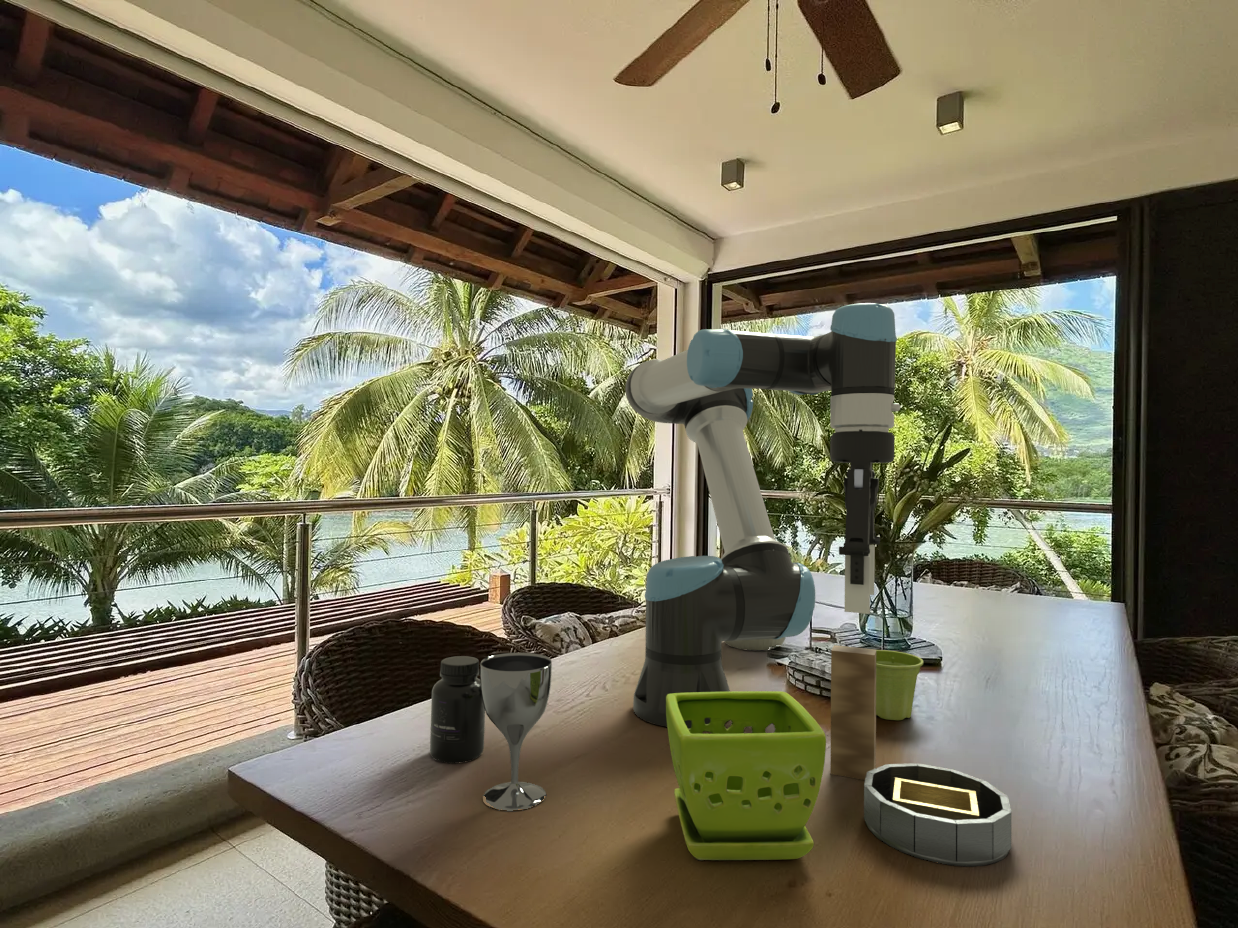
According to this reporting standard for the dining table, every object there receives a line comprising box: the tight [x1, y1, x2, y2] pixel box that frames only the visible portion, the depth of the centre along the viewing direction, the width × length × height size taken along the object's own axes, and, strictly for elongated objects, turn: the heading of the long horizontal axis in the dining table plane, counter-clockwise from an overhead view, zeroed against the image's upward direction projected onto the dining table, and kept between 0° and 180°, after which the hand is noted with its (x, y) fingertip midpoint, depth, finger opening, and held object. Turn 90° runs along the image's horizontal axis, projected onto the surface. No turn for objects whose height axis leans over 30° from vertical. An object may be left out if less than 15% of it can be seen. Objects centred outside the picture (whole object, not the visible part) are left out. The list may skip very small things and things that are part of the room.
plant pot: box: [876, 649, 924, 721], centre depth 107 cm, size 9×9×9 cm
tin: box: [863, 762, 1012, 867], centre depth 72 cm, size 14×14×4 cm
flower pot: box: [666, 690, 827, 861], centre depth 70 cm, size 14×14×13 cm
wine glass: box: [479, 652, 553, 812], centre depth 78 cm, size 8×8×15 cm
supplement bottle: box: [429, 655, 486, 764], centre depth 90 cm, size 7×7×12 cm
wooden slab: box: [829, 644, 877, 781], centre depth 86 cm, size 5×3×15 cm, turn 66°
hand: (860, 602), depth 87 cm, fingers open, 13 cm apart
